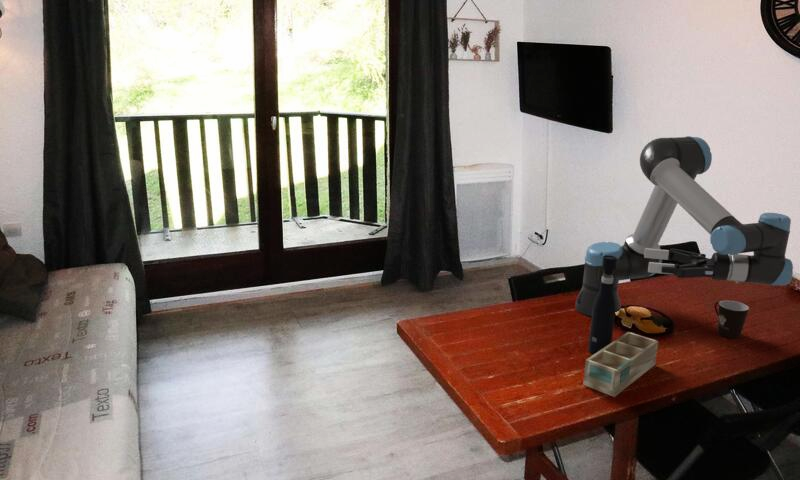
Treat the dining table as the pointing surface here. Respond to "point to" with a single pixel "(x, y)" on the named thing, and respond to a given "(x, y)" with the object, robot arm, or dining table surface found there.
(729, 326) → the coffee mug
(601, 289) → the black metal bottle
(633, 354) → the wooden compartment box
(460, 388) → the dining table surface
